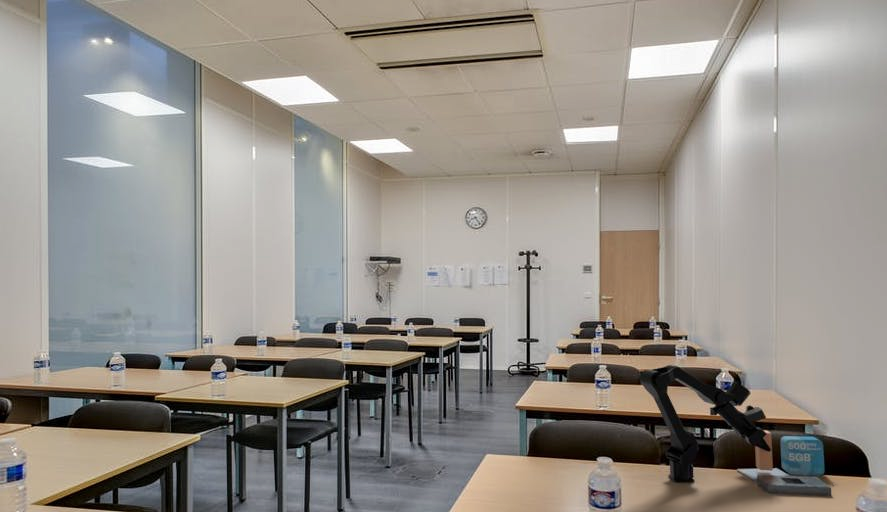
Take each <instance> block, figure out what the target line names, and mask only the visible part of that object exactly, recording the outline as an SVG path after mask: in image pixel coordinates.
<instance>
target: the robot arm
mask: <svg viewBox="0 0 887 512" xmlns="http://www.w3.org/2000/svg"><path fill="white" fill-rule="evenodd" d="M674 380H675V381H677V382H679V384H681V385H682V386H685V387H687V388H688V389H690V390H692V391H693V392H695V394H697V396H698V397H699V399H701V400H702V401H703V402H705V403H707V404H710V405H714V407H709V410H710V412H709V415H710V416H717V415H719V416H720V417H721V418H722V419H723V420H724V421H725V423H727V424H728V426H731V428H732V431H733V432H735V433H736V434H737V435H738V436H739V435H740V437H741V438H742V439H743V440H745V441H746V442H747V443H749V445H750V446H752V447H755V446H756V447H759V448H761V449H763V450H766V451H768V452H770V451H771V449H770V447H769V446H768V444H767V443H766V441H765V440H764V439H763V437H764V436H765V435H766V434H767V433H766V432H764V431H763V430H764V429H762V428H761V427H760V426H756V423H757V422H759V421H760V420H765V419H767V417H766V414H765V412H764V411H763V409H762V408H760V407H759V406H752V405H750V404H749V405H747V406H745V408H746V409H745V411H744V412H741V410H739V409H737V408H736V407H741V406H743V404H744V403H745V402H746V400H747V399H748V397H749V396H750V395H751V391H750V390H749V389H748V388H747V387H745V386H744V385H742V384H740V382H737V381H732V383H731V384H730V386H729V387H728V388H727V390H726V391H725V390H723V389H722V388H719V387H716V386H713V385H710V384H707V383H705V382H703V381H702V380H700V379H698V378H696V377H695V376H693V375H692V374H690V373H689V372H686V370H684V369H682V368H681V367H680V366H677V365H672V364H668V365H666V366H664V367H663V366H662V367H658V368H652V369H644V370H643V371H642V372H641V374H640V376H639V383H640V384H641V385H642V386H643V388H644V389H645V390H646V391H647V392H648V394H650V395H651V396H652V398H653V399H654V402H655V404H656V406H657V408H658V410H659V412H660V414H661V416H662V418H663V420H664V423H665V425H666V427H667V430H668V431H669V433H670V434H669V442H670V445H669V447H668V448H667V449H666V451H664V452H665V453H664V454H665V456H666V458H667V459H669V474H667V476H668V477H669V478H670V479H671V480H672V481H674V482H675V483H689V482H690V483H692V482H693V483H694V482H695V479H694V466H693V464H695V462H696V459H697V455H698V452H699V444H700V443H699V442H698V441H697V439H696V437H695V434H694V433H693V432H692V431H689V430H686V429H685V427H684V425H683V423H682V422H681V419H680V417H679V415H678V413H677V411H676V409H675V407H674V405H673V403H672V400H671V398H670V396H669V394H668V389H669V386H668V384H670V383H672V382H674Z"/></svg>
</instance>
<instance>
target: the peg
mask: <svg viewBox="0 0 887 512" xmlns="http://www.w3.org/2000/svg"><path fill="white" fill-rule="evenodd" d="M762 430H763V431H764V432H766V433H767V434H766V435H765V436H764V437H763V439H764V440H765V441H766V443H767V444H768V446H769V447H770V449H771V451H770V452H768V451H766V450H763V449H761V448H759V447H756V446H754V450H755V467H756V469H760V470H773V467H774V466H773V465H774V464H773V446H772V444H773V443H772V442H773V441H772V432H770V431H769V430H765V429H762Z"/></svg>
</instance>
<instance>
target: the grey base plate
mask: <svg viewBox="0 0 887 512" xmlns="http://www.w3.org/2000/svg"><path fill="white" fill-rule="evenodd" d="M756 482H757V484H758V485H759V486H760V487H762V489H763V490H765V491H766V493H767V494H780V495H781V494H783V495H804V496H805V495H807V496H826V497H827V496H828V497H829V496H830V497H831V496H832V488H831V486H830V485H828V484H827V483H826V482H824V481H823V480H821V479H820V478H819V477H817V476H804V475H790V476H776V475H757V480H756Z"/></svg>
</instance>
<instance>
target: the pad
mask: <svg viewBox="0 0 887 512" xmlns="http://www.w3.org/2000/svg"><path fill="white" fill-rule="evenodd" d="M736 471H737V472H738V473H740V474H742V475H743V476H745V477H747V478H748V479H749V480H752V481H757V475H776V476H791V474H789V473H788V472H787V473H786V471H785V472H784V470H783V471H782V470H781V469H779V468H777V467H775V468H773V470H760V469H758V468H737V469H736Z"/></svg>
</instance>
